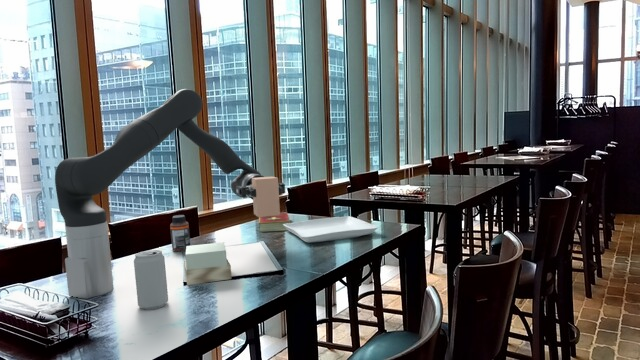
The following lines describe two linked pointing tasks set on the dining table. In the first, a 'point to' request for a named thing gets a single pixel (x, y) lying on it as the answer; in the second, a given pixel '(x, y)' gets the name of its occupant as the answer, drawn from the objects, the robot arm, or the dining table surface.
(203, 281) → the birch base block
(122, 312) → the dining table surface
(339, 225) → the square plate
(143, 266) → the beverage can
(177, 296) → the dining table surface
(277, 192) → the terracotta pillar block
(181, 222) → the supplement bottle
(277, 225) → the hardcover book
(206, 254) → the sage top block
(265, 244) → the dining table surface
